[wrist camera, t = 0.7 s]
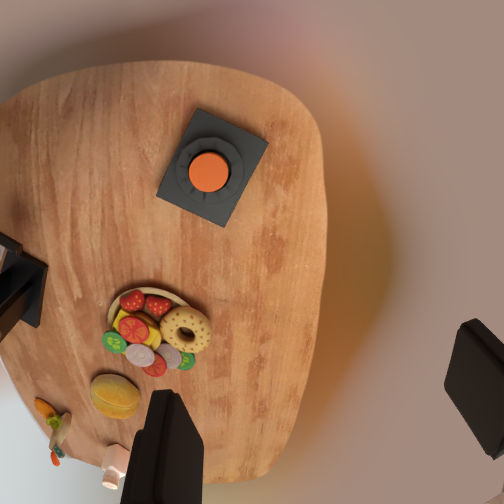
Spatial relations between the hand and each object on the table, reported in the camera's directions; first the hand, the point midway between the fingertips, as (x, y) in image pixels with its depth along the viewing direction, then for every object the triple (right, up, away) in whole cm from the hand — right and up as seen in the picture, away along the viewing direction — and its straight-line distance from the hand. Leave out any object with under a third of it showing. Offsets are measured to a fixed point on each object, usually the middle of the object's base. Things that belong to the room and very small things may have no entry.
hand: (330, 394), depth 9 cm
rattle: (-40, -26, +38) cm, 61 cm away
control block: (-7, +14, +24) cm, 29 cm away
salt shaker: (-29, -36, +43) cm, 63 cm away
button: (-6, +12, +21) cm, 25 cm away
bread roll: (-24, -18, +36) cm, 47 cm away
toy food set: (-15, -6, +32) cm, 35 cm away
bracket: (-35, 0, +28) cm, 45 cm away
